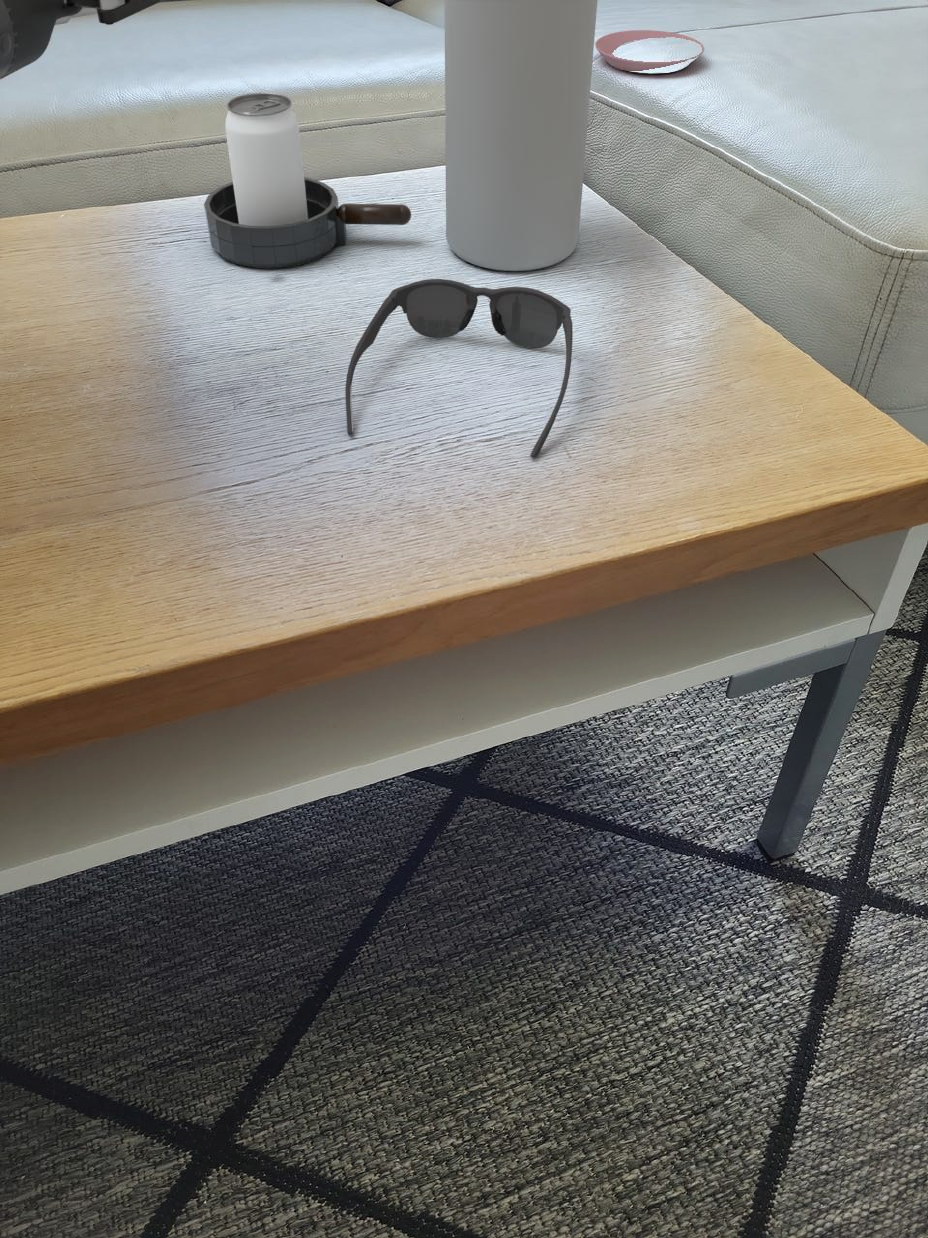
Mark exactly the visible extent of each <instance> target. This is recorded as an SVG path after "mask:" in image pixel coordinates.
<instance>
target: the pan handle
mask: <svg viewBox="0 0 928 1238" xmlns="http://www.w3.org/2000/svg"><path fill="white" fill-rule="evenodd" d="M338 207H339V208H338V209H337V225H338V237H339V240H338V242H337V243H336V244H335V245H334V246H335V247H336V246H339V247H341V246H342V247H343V246H345V247H346V245H347V240H348V236H347V235H348V234H347V225H369V226H370V225H372V226H375V225H377V226H380V225H381V226H404V225H407V224H409V222H410V221H411V219H412V211H411V209H410V207H408V206H407V205H406V204H401V203H398V204H395V203H393V204H392V203H342V204H341V205H338ZM334 246H333V247H334Z"/></svg>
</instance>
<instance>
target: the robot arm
mask: <svg viewBox="0 0 928 1238" xmlns="http://www.w3.org/2000/svg"><path fill="white" fill-rule="evenodd" d="M159 3H161V0H0V80H2V79H5V78H6V77H8V76H10V75H12V74H14V73H15V72H18V71H19V70H21V69H23V68H25V67H27V66H29V65H31V64H33V63H35V62H36V61H37V60H38V59H40V58H41V57H42V55H43V54H44V53H45V51H46V50H47V48H48V47H49V44H50V41H51V39H52V35H53V32H54V29H55V26H57V25H58V26H59V25H65V24H67V23H69V21H70V20H71V19H73V18H80V17H84V16H91V15H97V18H98V22H99V23H100V24H105V25H107V26H112V25H114V24H116V23H119V22H121V21H122V20H124V19H127V18H129V17H131V16H134V15H135V14H137V13H140V12H142V11H144V10H146V9H148V8H150V7H152V6H154V5H156V4H159Z"/></svg>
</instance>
